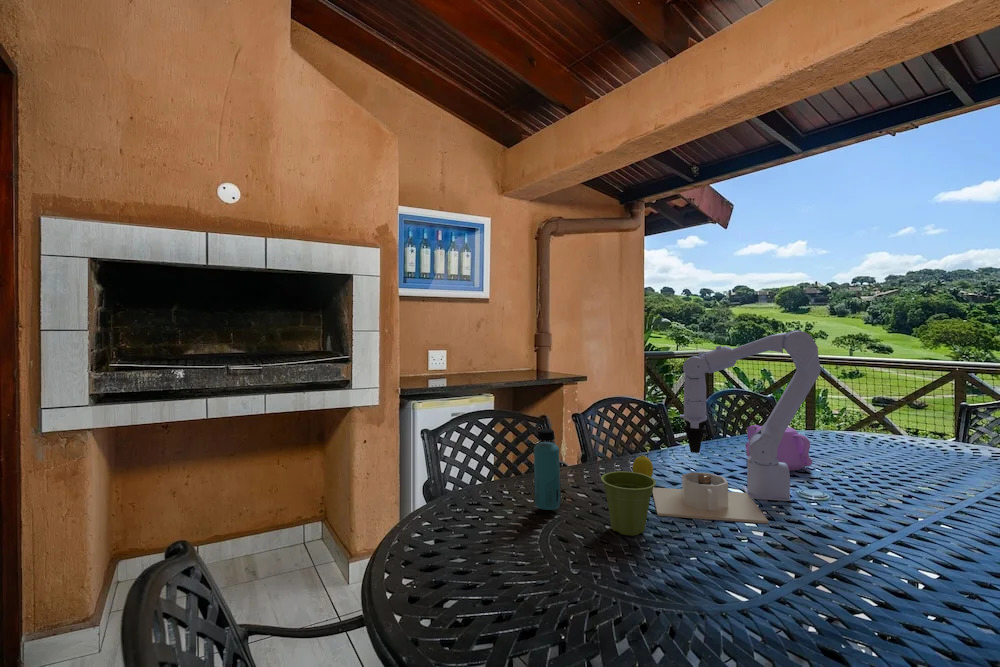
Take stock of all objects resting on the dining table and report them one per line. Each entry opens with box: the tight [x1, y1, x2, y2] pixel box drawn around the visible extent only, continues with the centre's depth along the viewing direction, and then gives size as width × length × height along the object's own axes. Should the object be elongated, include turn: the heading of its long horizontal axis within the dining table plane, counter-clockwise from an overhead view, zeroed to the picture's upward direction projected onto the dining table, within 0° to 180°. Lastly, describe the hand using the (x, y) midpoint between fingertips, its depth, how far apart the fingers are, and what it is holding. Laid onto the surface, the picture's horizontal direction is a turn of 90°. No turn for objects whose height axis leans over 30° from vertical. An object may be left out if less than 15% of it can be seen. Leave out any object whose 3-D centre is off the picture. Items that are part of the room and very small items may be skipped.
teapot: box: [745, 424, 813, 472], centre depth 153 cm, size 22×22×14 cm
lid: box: [697, 474, 713, 485], centre depth 122 cm, size 8×8×6 cm
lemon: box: [632, 454, 654, 478], centre depth 139 cm, size 6×6×8 cm
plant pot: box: [600, 470, 657, 537], centre depth 109 cm, size 12×12×11 cm
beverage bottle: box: [533, 428, 562, 511], centre depth 120 cm, size 6×7×20 cm
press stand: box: [652, 471, 770, 524], centre depth 122 cm, size 24×18×7 cm
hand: (695, 448), depth 136 cm, fingers open, 7 cm apart
